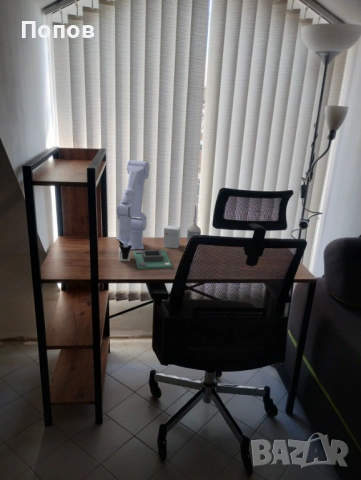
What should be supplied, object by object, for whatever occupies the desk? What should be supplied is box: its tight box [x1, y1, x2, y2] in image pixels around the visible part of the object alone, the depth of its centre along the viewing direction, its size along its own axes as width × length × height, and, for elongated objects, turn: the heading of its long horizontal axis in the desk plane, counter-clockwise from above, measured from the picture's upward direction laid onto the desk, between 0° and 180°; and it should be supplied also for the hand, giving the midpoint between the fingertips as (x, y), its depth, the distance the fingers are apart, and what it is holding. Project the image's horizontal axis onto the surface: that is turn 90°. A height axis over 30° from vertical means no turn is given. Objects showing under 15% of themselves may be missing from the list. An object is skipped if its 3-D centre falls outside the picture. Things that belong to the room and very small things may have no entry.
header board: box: [132, 249, 174, 270], centre depth 188 cm, size 20×16×4 cm
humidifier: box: [185, 204, 202, 247], centre depth 197 cm, size 8×8×25 cm
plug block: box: [118, 246, 131, 262], centre depth 187 cm, size 4×5×6 cm
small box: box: [162, 225, 181, 249], centre depth 206 cm, size 8×6×10 cm
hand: (124, 256), depth 187 cm, fingers open, 7 cm apart
